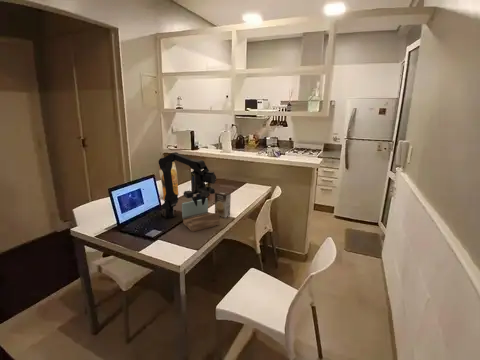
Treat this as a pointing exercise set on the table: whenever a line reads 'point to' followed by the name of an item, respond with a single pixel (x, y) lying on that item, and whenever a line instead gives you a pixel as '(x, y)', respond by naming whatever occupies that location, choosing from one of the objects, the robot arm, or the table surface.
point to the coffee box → (222, 203)
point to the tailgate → (194, 208)
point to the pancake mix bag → (174, 179)
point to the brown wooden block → (201, 221)
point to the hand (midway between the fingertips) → (199, 205)
